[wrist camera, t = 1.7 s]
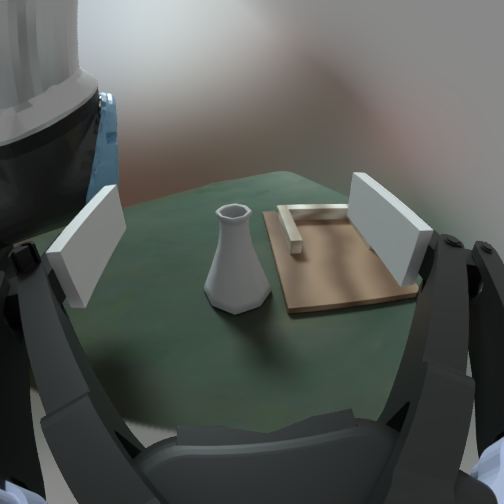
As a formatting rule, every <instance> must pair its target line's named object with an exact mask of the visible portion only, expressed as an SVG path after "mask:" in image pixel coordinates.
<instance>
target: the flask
mask: <svg viewBox="0 0 504 504" xmlns="http://www.w3.org/2000/svg"><path fill="white" fill-rule="evenodd" d="M216 216H217V217H218V218H219V221H220V234H219V241H218V247H217V250H216V253H215V257H214V260H213V263H212V266H211V269H210V272H209V275H208V277H207V280H206V283H205V286H204V291H205V293H206V295H207V297H208V299H209V301H210V303H211V305H212V306H214V307H217V308H219V309H222V310H224V311H227V312H229V313H232V314H234V315H236V314H239V313H242V312H245V311H248V310H251V309H254V308H257V307H260V306H261V305H262V303H263V302H264V300H265V299H266V298H267V296H268V295H269V293H270V292H271V291H272V290H271V287H270V285H269V282H268V280H267V278H266V276H265V274H264V272H263V270H262V267H261V265H260V263H259V260H258V258H257V255H256V253H255V250H254V248H253V245H252V241H251V236H250V232H249V218H250V217H251V216H252V211H251V210H250V209H249V208H248V207H247V206H244V205H240V204H230V205H226V206H222V207H221V208H219V209H218V210H217V211H216Z"/></svg>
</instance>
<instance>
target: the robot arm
mask: <svg viewBox="0 0 504 504" xmlns="http://www.w3.org/2000/svg"><path fill="white" fill-rule="evenodd" d="M77 5H78V0H0V504H48V503H47V502H46V495H45V488H44V481H43V477H42V472H41V467H40V462H39V458H38V453H37V448H36V442H35V436H34V429H33V421H32V413H31V401H30V385H29V360H30V364H31V368H32V371H33V375H34V378H35V382H36V385H37V388H38V392H39V395H40V398H41V401H42V404H43V406H44V409H45V412H46V416H44V417H43V418H41V421H40V424H41V427H42V431H43V433H44V436H45V438H46V441H47V443H48V446H49V448H50V450H51V452H52V455H53V457H54V459H55V461H56V463H57V465H58V467H59V469H60V471H61V473H62V475H63V477H64V479H65V481H66V482H67V484H68V486H69V488H70V490H71V492H72V493H73V495H74V497H75V498H76V500H77V502H78V503H79V504H504V264H503V262H502V260H501V258H500V257H499V255H498V253H497V252H496V250H495V249H494V248H493V247H492V246H491V245H490V244H488V243H487V242H482V241H476V242H475V245H474V247H473V250H469V249H465V248H464V245H463V244H462V242H461V241H459V240H458V239H457V238H455V237H453V236H450V235H447V234H441V235H439V234H438V233H437V232H436V231H435V230H434V229H433V228H432V227H431V226H429V225H428V224H427V223H426V222H425V221H424V220H422V218H421V217H419V216H418V215H417V214H416V213H414V212H413V211H412V210H410V209H409V208H408V207H407V206H406V205H405V204H403V203H402V202H401V201H400V200H399V199H397V198H396V197H395V196H394V195H392V194H391V193H390V192H389V191H388V190H386V189H385V188H384V187H382V186H381V185H380V184H378V183H377V182H376V181H375V180H373V179H372V178H371V177H369V176H368V175H367V174H365V173H356V172H353V176H352V184H351V192H350V198H349V205H348V212H347V216H348V218H349V219H350V220H351V221H352V223H353V224H354V225H355V226H356V228H357V229H358V230H359V231H360V233H361V234H362V235H363V236H364V238H365V239H366V240H367V242H368V243H369V244H370V246H371V247H372V248H373V249H374V251H375V252H376V253H377V255H378V256H379V258H380V259H381V260H382V262H383V263H384V264H385V266H386V267H387V268H388V270H389V271H390V273H391V274H392V275H393V277H394V278H395V280H396V281H397V283H398V284H399V285H400V287H404V286H411V285H414V284H415V281H416V279H417V276H418V273H419V275H420V276H421V277H422V278H423V280H422V282H421V285H420V287H419V289H418V292H417V294H416V296H415V300H417V303H416V308H415V312H414V316H413V320H412V325H411V328H410V332H409V336H408V340H407V343H406V347H405V350H404V354H403V357H402V360H401V363H400V366H399V370H398V373H397V375H396V378H395V381H394V384H393V387H392V390H391V392H390V395H389V398H388V400H387V403H386V405H385V408H384V410H383V412H382V414H381V415H380V417H379V418H378V420H377V421H373V420H369V419H361V418H354V415H353V412H352V409H347V410H343V411H338V412H334V413H329V414H324V415H319V416H313V417H310V418H308V419H305V420H303V421H300V422H298V423H295V424H293V425H290V426H288V427H285V428H282V429H280V430H277V431H274V432H271V433H260V432H252V431H246V430H239V429H233V428H228V427H222V426H177V436H175V437H170V438H167V439H164V440H162V441H159V442H157V443H154V444H153V445H151V446H149V447H147V448H145V447H144V446H143V445H142V444H141V443H140V442H139V441H138V439H137V438H136V437H135V436H134V435H133V434H132V432H131V431H130V429H129V428H128V427H127V425H126V424H125V422H124V421H123V419H122V418H121V416H120V415H119V413H118V411H117V410H116V408H115V407H114V405H113V404H112V402H111V400H110V399H109V397H108V395H107V394H106V392H105V390H104V388H103V387H102V385H101V383H100V381H99V380H98V378H97V376H96V374H95V372H94V370H93V368H92V367H91V365H90V363H89V361H88V359H87V357H86V355H85V353H84V351H83V349H82V346H81V344H80V342H79V340H78V338H77V336H76V333H75V331H74V329H73V326H72V324H71V322H70V319H69V317H68V314H67V312H66V310H65V308H64V306H63V304H62V303H63V301H64V299H65V297H66V299H67V300H68V302H69V304H70V306H71V308H86V306H87V303H88V301H89V299H90V297H91V295H92V293H93V291H94V288H95V286H96V284H97V282H98V280H99V278H100V276H101V274H102V272H103V270H104V268H105V266H106V264H107V262H108V260H109V259H110V257H111V255H112V253H113V251H114V249H115V247H116V245H117V244H118V242H119V240H120V238H121V236H122V235H123V233H124V231H125V229H126V225H125V220H124V216H123V212H122V208H121V203H120V199H119V194H118V184H119V178H118V177H119V167H118V143H117V139H116V138H117V114H116V103H115V99H114V96H113V95H112V94H109V93H108V94H106V93H104V92H103V93H98V82H97V79H96V77H95V76H94V75H92V74H90V73H88V72H87V71H85V70H83V69H82V68H80V66H79V61H78V42H77ZM67 225H68V226H67ZM64 226H67V227H66V228H65V230H64V231H63V232H61V233H60V234H59V235H58V236H57V237H56V238H55V240H54V242H52V243H51V245H50V247H48V248H47V250H46V251H45V252H44V253H43V255H42V256H41V257H40V256H39V253H38V251H37V248H36V246H35V243H34V242H33V241H27V242H24V243H22V244H20V245H18V246H17V247H15V248H14V246H13V244H15V243H18V242H20V241H23V240H26V239H29V238H31V237H34V236H37V235H40V234H43V233H46V232H49V231H52V230H55V229H58V228H61V227H64ZM482 287H483V288H482ZM481 289H482V291H481ZM480 291H481V292H480ZM468 351H469V357H470V364H471V371H472V377H469V376H466V368H467V356H468ZM474 400H475V417H476V440H477V449H478V455H479V463H477V464H476V465H474V466H473V468H472V470H471V476H470V475H468V474H467V473H465V472H463V471H461V470H459V467H460V464H461V461H462V457H463V453H464V449H465V445H466V440H467V436H468V432H469V426H470V421H471V415H472V409H473V403H474Z"/></svg>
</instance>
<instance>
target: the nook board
mask: <svg viewBox="0 0 504 504" xmlns="http://www.w3.org/2000/svg"><path fill="white" fill-rule="evenodd" d="M348 205H349V204H313V205H277V211H266V212H263V219H264V223H265V226H266V230H267V234H268V238H269V242H270V245H271V249H272V253H273V257H274V261H275V265H276V269H277V273H278V277H279V281H280V285H281V288H282V292H283V296H284V300H285V304H286V309H287V313H288V314H290V313H301V312H311V311H320V310H329V309H338V308H346V307H353V306H361V305H368V304H375V303H382V302H388V301H395V300H401V299H407V298H413V297H415V296H416V294H417V292H418V289H419V287H418V286H417V284H416V283H415V284H414V285H411V286H404V287H400V285H399V284H398V283H397V281H396V280H395V278H394V277H393V275H392V274H391V273H390V271H389V270H388V268H387V267H386V266H385V264H384V263H383V262H382V260H381V259H380V258H379V256H378V255H377V253H376V252H375V251H374V249H373V248H372V247H371V246H370V244H369V243H368V242H367V240H366V239H365V238H364V236H363V235H362V234H361V233H360V231H359V230H358V229H357V228H356V226H355V225H354V224H353V223H352V221H351V220H350V219H349V218H348V216H347V212H348Z"/></svg>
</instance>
